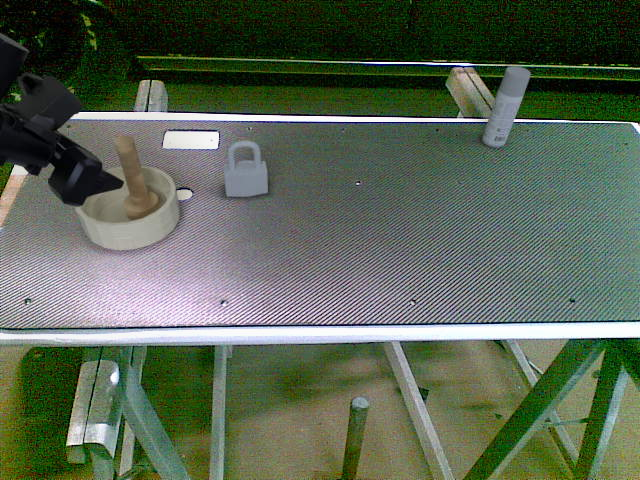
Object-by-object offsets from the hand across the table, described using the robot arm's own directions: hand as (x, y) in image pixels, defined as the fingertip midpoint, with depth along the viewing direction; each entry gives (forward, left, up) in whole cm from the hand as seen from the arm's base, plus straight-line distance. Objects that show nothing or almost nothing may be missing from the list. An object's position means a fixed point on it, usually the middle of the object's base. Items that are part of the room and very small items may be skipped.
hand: (105, 169), depth 67 cm
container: (+73, -4, -11) cm, 74 cm away
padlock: (+21, +1, -11) cm, 23 cm away
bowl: (+2, +1, -11) cm, 11 cm away
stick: (+4, +1, -10) cm, 11 cm away
